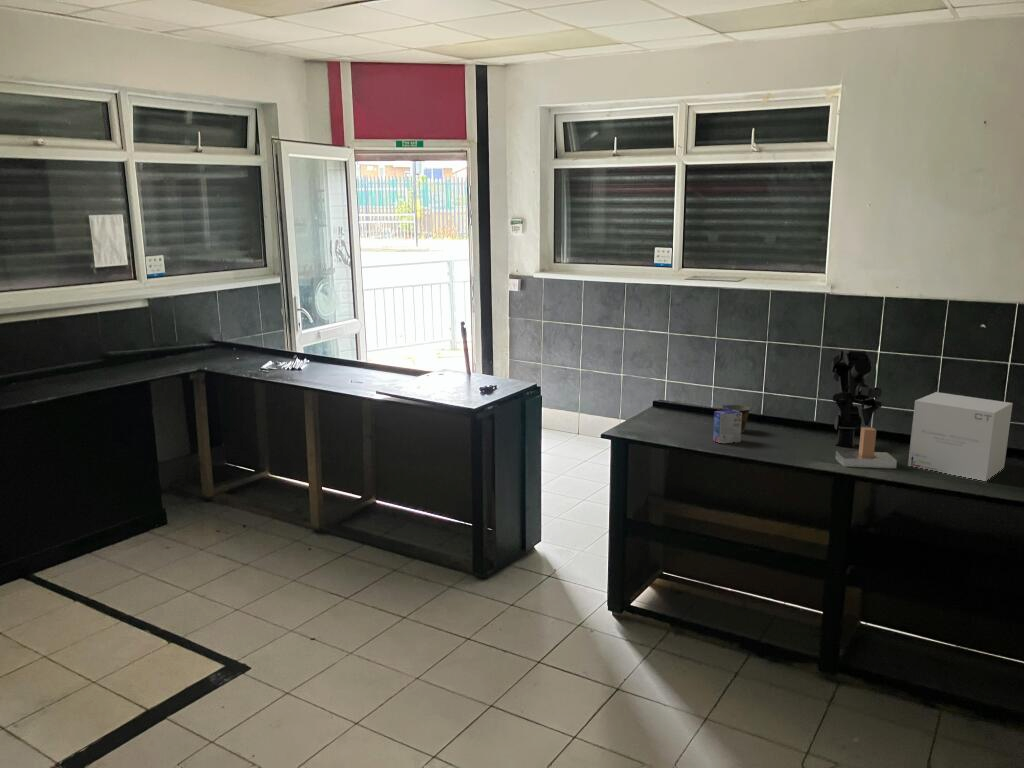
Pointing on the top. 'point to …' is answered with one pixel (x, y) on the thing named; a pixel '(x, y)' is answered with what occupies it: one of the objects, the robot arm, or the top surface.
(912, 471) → the top surface
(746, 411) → the ceramic cup
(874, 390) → the robot arm
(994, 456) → the white cardboard box
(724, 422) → the ink cartridge box
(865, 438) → the square peg
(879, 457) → the grey flat block
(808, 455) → the top surface
